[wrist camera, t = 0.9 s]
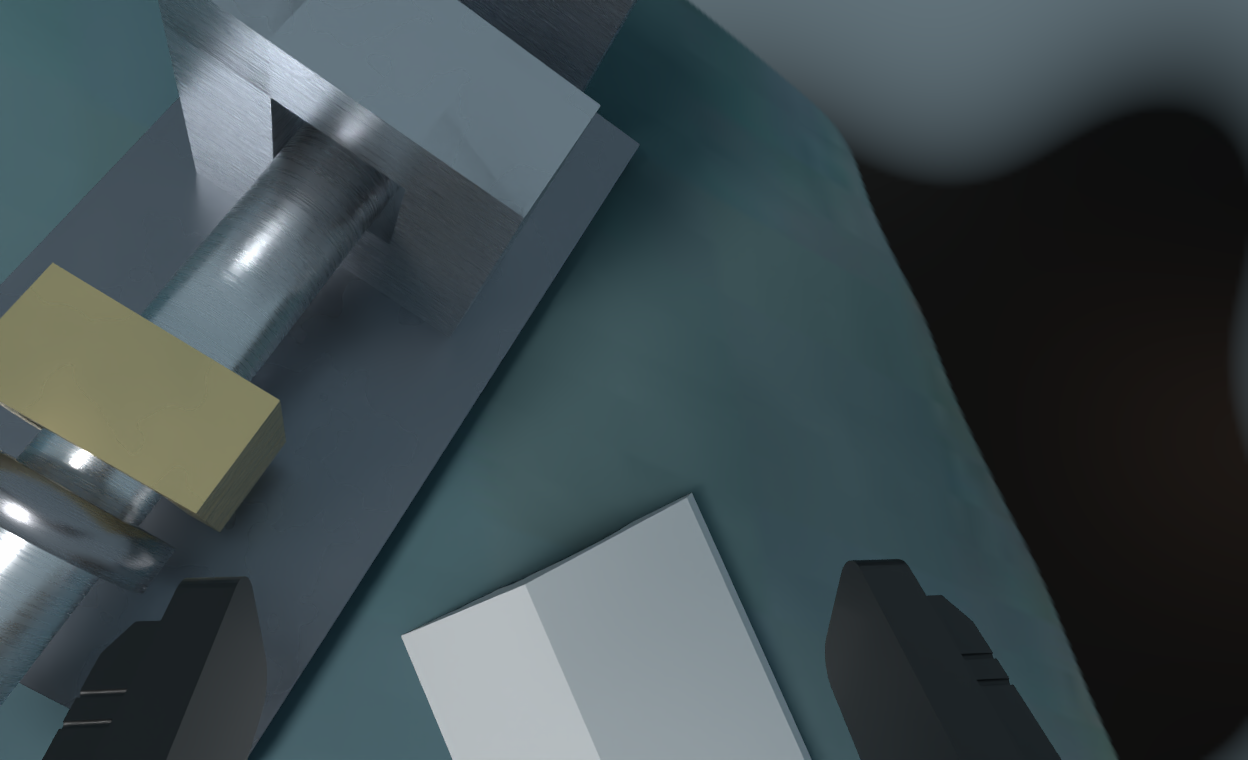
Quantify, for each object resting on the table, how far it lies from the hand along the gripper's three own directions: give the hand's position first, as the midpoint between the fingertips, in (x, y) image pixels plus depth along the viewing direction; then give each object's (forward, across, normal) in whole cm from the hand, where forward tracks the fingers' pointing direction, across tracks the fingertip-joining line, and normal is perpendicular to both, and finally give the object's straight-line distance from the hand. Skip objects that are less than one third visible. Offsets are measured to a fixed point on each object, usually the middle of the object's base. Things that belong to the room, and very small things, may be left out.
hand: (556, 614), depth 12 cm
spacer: (+13, +10, +5) cm, 17 cm away
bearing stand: (+20, +8, +4) cm, 22 cm away
